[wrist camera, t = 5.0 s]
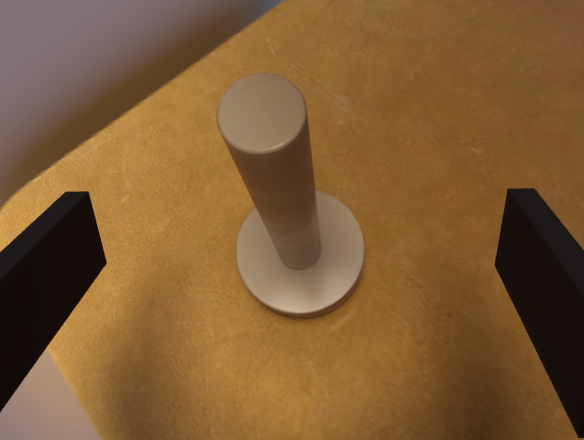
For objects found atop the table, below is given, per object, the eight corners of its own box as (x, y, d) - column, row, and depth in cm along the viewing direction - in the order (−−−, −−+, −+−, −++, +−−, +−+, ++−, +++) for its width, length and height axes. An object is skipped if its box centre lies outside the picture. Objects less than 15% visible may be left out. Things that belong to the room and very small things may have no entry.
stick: (278, 341, 24) (198, 299, 10) (222, 236, 26) (86, 72, 12) (386, 279, 25) (456, 154, 11) (324, 180, 27) (312, -44, 12)
